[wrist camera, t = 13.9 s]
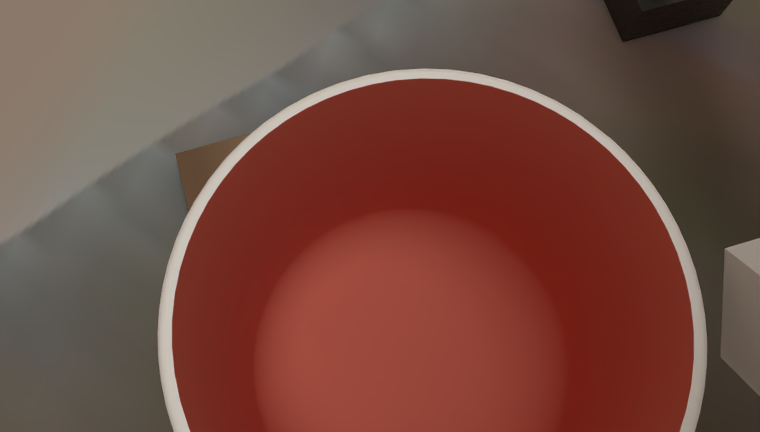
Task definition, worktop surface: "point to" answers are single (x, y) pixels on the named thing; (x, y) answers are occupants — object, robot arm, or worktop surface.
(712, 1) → the jointed metal bar
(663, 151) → the worktop surface
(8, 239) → the worktop surface
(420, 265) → the cup
